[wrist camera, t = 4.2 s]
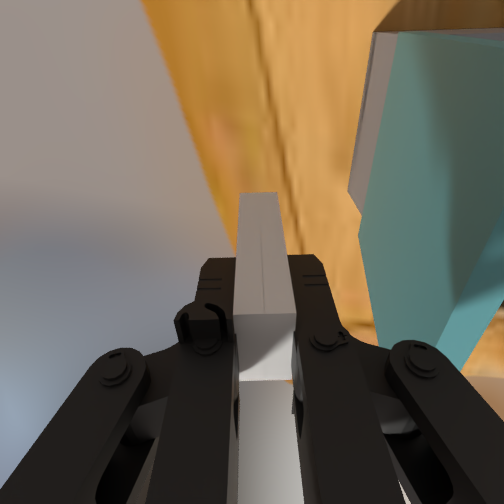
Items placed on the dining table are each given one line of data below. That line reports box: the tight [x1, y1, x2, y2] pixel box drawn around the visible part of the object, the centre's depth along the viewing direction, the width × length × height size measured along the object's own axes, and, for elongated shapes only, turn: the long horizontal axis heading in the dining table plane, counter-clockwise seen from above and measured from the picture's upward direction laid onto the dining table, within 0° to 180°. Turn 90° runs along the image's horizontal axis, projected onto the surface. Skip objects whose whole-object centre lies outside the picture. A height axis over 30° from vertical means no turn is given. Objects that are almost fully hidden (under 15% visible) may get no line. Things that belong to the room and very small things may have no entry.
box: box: [348, 28, 504, 215], centre depth 23 cm, size 14×12×7 cm
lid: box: [358, 31, 504, 371], centre depth 14 cm, size 14×12×1 cm
